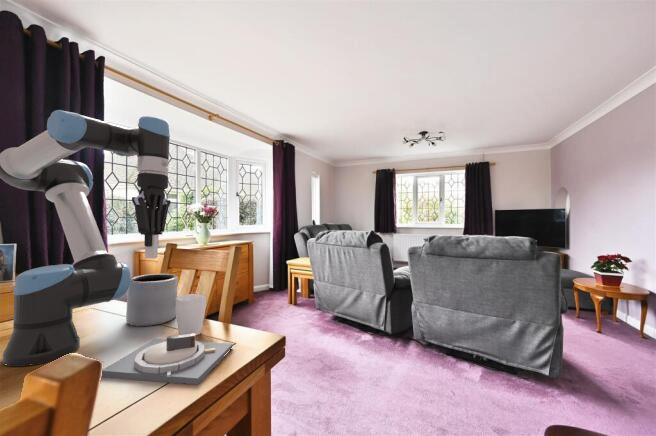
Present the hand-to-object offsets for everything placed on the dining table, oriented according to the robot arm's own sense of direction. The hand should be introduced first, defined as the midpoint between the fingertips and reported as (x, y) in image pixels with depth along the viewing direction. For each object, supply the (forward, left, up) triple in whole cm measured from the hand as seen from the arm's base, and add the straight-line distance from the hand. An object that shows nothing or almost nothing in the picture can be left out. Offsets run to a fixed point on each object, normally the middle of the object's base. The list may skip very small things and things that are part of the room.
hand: (151, 257), depth 83 cm
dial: (+10, -5, -25) cm, 27 cm away
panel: (+10, -4, -26) cm, 29 cm away
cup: (+4, +14, -27) cm, 30 cm away
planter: (-17, +24, -27) cm, 40 cm away
